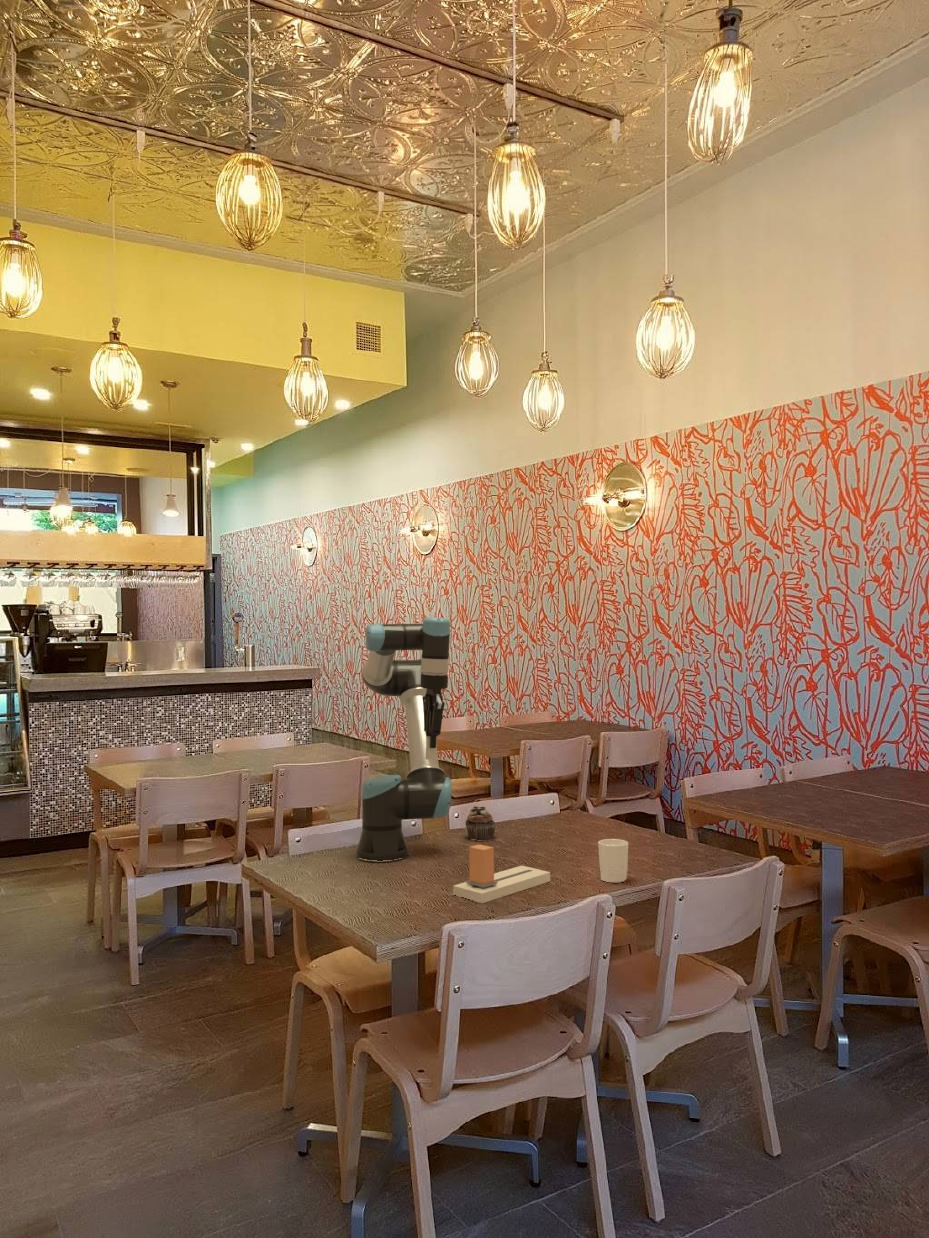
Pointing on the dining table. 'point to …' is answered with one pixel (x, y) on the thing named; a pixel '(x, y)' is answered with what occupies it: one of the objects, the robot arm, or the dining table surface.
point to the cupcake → (480, 824)
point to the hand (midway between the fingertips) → (430, 759)
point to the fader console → (503, 884)
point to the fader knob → (481, 866)
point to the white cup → (613, 859)
